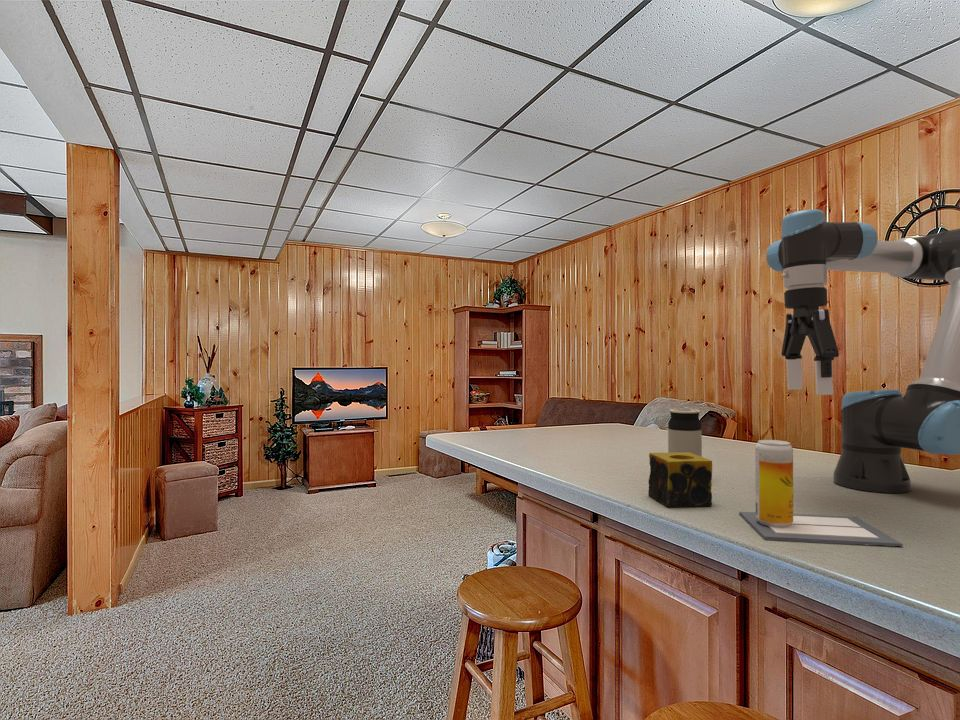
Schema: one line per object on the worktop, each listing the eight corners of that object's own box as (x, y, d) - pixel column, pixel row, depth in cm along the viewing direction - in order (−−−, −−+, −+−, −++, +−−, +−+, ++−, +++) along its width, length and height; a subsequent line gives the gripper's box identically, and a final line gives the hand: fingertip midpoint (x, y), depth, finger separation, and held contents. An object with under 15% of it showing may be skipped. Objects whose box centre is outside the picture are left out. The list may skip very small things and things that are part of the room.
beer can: (798, 529, 95) (798, 445, 95) (761, 527, 96) (761, 444, 96) (785, 519, 101) (785, 439, 101) (751, 517, 102) (751, 439, 102)
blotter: (856, 519, 103) (856, 515, 103) (902, 547, 88) (902, 542, 88) (739, 514, 107) (739, 510, 107) (764, 539, 92) (764, 535, 92)
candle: (647, 496, 121) (647, 452, 121) (690, 495, 122) (690, 451, 122) (666, 508, 111) (666, 461, 111) (713, 507, 112) (713, 460, 112)
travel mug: (667, 482, 134) (667, 410, 134) (669, 475, 142) (668, 408, 142) (701, 484, 131) (701, 411, 131) (701, 478, 139) (701, 409, 139)
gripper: (763, 295, 122) (766, 387, 122) (812, 281, 97) (817, 397, 98) (798, 293, 121) (802, 386, 121) (858, 279, 96) (862, 396, 96)
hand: (808, 392), depth 109 cm, fingers open, 13 cm apart
